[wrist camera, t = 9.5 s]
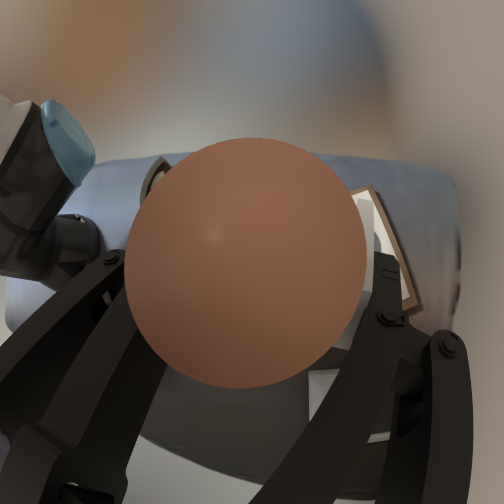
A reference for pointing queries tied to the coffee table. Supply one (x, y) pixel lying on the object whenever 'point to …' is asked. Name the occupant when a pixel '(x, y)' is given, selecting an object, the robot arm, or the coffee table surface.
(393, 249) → the clipboard
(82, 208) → the coffee table surface
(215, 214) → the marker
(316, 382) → the grey framed panel
